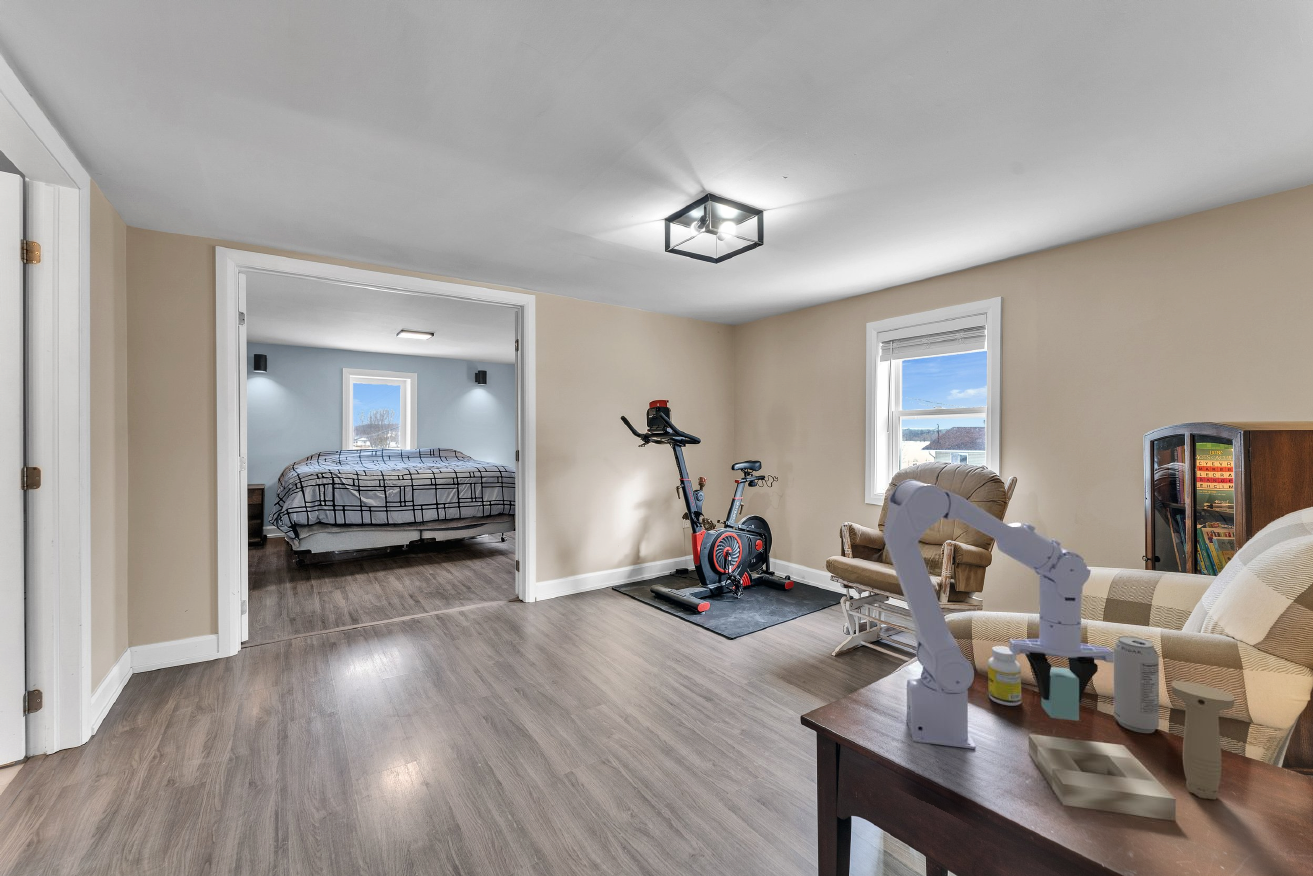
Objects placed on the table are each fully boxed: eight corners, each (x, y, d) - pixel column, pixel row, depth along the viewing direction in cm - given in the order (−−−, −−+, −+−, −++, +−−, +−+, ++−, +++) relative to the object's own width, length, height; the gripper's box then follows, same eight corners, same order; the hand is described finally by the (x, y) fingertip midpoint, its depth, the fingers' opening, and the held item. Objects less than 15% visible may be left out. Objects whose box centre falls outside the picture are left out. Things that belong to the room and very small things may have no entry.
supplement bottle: (989, 690, 112) (989, 642, 111) (1022, 697, 108) (1021, 648, 108) (987, 701, 107) (986, 651, 107) (1020, 709, 104) (1020, 657, 104)
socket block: (1063, 804, 78) (1063, 783, 78) (1028, 752, 91) (1028, 734, 91) (1175, 821, 75) (1175, 799, 75) (1123, 764, 87) (1123, 745, 87)
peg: (1051, 717, 93) (1051, 676, 93) (1041, 706, 97) (1041, 666, 96) (1079, 720, 92) (1079, 678, 91) (1068, 708, 95) (1068, 668, 95)
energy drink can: (1128, 714, 102) (1128, 633, 101) (1167, 731, 96) (1167, 645, 96) (1105, 720, 100) (1105, 637, 100) (1144, 738, 94) (1143, 650, 94)
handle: (1233, 813, 76) (1234, 704, 76) (1170, 791, 81) (1170, 689, 80) (1234, 796, 79) (1234, 692, 79) (1172, 776, 84) (1172, 678, 84)
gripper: (1098, 614, 96) (1098, 692, 96) (1003, 608, 100) (1003, 683, 100) (1120, 629, 89) (1120, 713, 89) (1017, 621, 93) (1017, 702, 93)
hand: (1059, 698), depth 94 cm, fingers closed on peg, 4 cm apart
